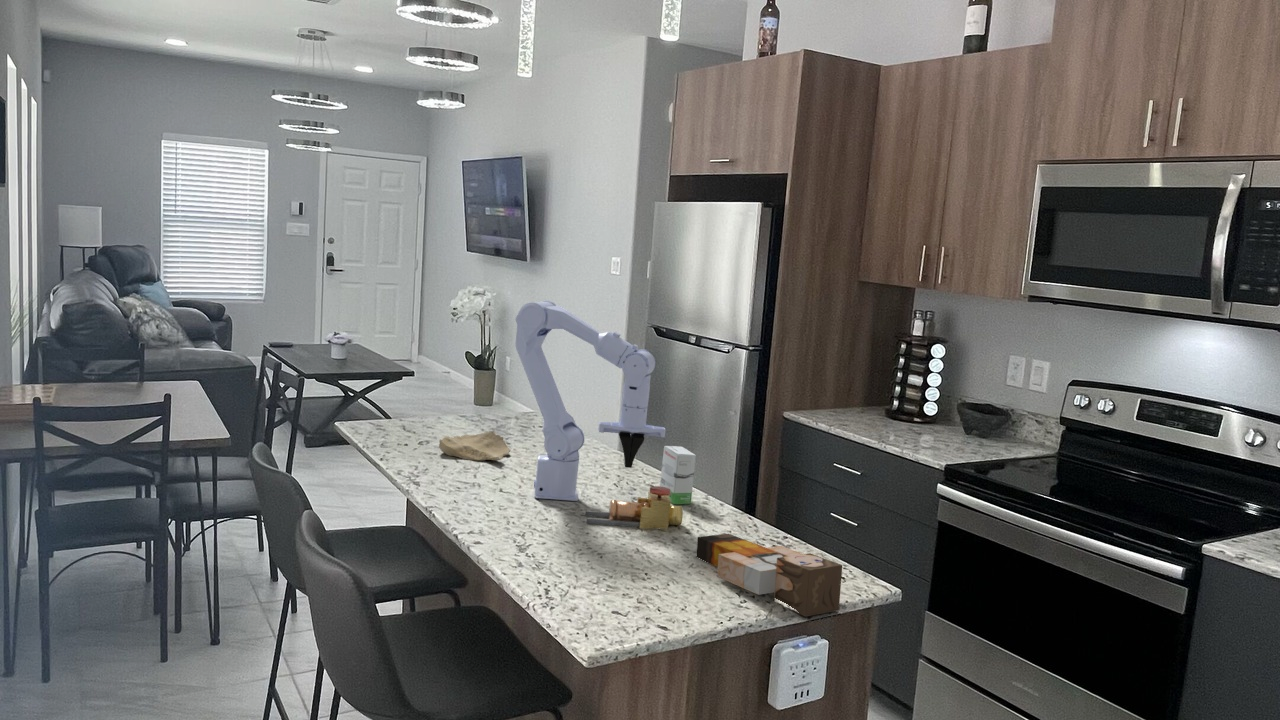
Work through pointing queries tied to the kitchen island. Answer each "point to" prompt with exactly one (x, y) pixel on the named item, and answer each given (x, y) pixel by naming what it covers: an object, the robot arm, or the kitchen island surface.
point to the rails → (607, 521)
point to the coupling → (625, 510)
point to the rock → (475, 446)
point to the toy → (775, 572)
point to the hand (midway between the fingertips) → (627, 466)
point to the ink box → (678, 473)
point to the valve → (659, 510)
